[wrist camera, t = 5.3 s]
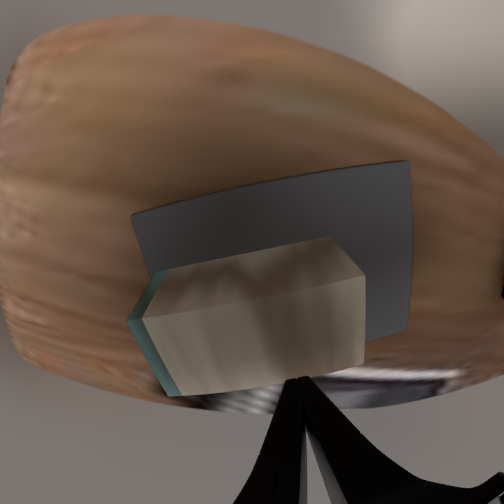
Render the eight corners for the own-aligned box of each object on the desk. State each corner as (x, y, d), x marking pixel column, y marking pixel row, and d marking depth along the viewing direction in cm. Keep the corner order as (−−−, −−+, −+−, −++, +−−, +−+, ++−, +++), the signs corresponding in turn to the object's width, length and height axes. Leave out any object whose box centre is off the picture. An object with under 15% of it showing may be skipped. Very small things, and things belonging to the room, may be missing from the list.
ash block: (365, 275, 10) (126, 320, 11) (363, 363, 12) (168, 396, 12) (330, 235, 15) (156, 271, 15) (336, 310, 17) (183, 339, 17)
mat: (403, 160, 14) (408, 161, 13) (403, 325, 18) (406, 329, 18) (133, 213, 15) (130, 216, 14) (194, 370, 19) (193, 375, 18)
